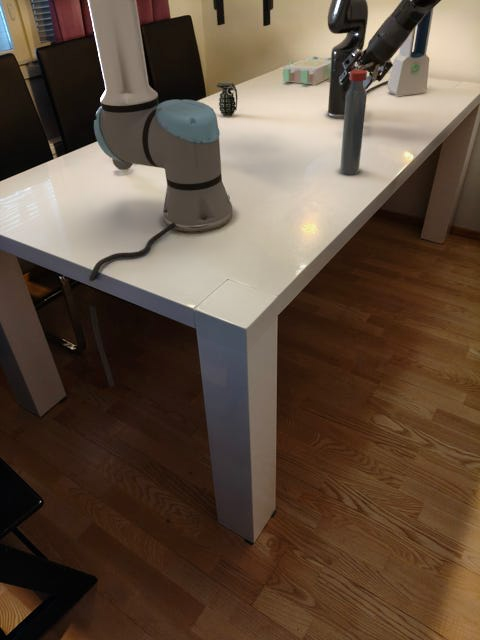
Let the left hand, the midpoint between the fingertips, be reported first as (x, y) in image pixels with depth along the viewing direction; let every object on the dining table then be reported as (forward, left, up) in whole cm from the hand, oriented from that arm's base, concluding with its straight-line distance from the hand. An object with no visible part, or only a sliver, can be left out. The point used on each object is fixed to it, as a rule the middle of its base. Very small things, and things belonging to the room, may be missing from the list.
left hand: (243, 25), depth 128 cm
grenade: (+22, +19, -30) cm, 42 cm away
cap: (-12, -35, -7) cm, 38 cm away
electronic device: (+70, -30, -30) cm, 82 cm away
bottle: (-12, -35, -30) cm, 48 cm away
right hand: (+19, -24, -18) cm, 36 cm away
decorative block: (+82, +13, -30) cm, 88 cm away
